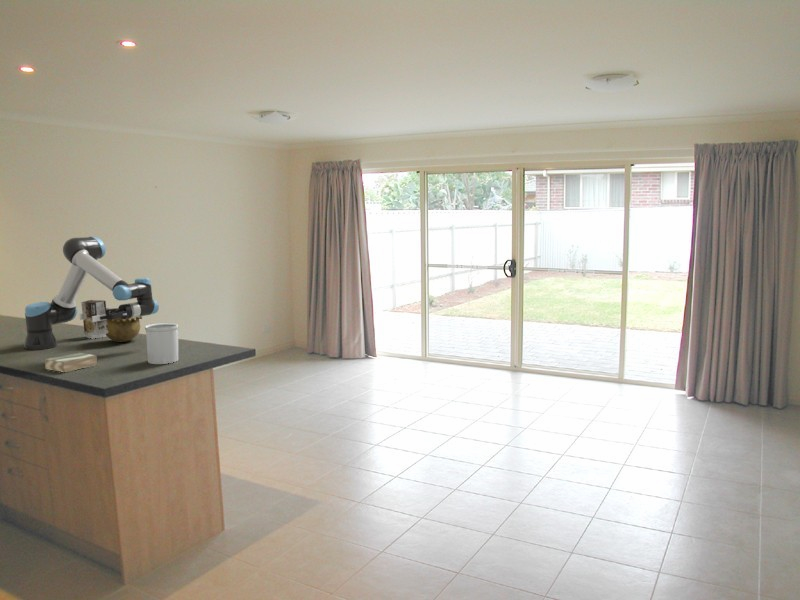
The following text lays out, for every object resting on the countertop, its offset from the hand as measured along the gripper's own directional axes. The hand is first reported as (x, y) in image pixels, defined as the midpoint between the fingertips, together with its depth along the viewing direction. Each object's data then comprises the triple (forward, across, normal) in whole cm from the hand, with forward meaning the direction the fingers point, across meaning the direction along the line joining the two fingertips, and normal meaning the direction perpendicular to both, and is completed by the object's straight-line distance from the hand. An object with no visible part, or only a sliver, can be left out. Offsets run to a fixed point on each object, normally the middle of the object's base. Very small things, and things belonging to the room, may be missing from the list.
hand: (86, 318), depth 291 cm
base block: (+12, -6, -21) cm, 25 cm away
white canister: (-34, +51, -22) cm, 65 cm away
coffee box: (-4, 0, -9) cm, 10 cm away
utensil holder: (-19, -30, -22) cm, 42 cm away
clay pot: (-35, +28, -22) cm, 50 cm away
